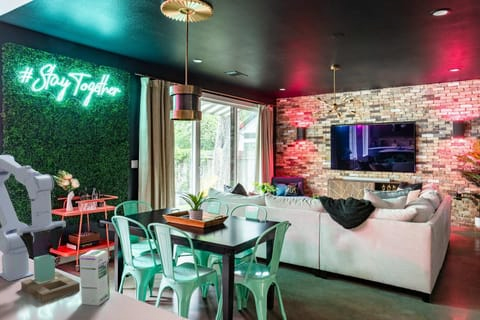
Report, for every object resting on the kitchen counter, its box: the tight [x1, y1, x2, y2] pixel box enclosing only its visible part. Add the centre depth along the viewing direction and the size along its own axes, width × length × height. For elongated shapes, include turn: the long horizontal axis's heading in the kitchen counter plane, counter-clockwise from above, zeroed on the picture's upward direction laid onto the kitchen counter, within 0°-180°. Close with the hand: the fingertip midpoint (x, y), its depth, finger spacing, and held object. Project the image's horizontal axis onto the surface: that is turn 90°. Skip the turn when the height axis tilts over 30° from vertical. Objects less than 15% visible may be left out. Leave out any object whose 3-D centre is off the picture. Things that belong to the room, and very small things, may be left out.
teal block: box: [33, 253, 56, 282], centre depth 115 cm, size 4×4×7 cm
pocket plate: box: [20, 270, 81, 304], centre depth 113 cm, size 16×11×3 cm
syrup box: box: [79, 249, 111, 306], centre depth 105 cm, size 6×6×14 cm
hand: (43, 252), depth 118 cm, fingers open, 7 cm apart
